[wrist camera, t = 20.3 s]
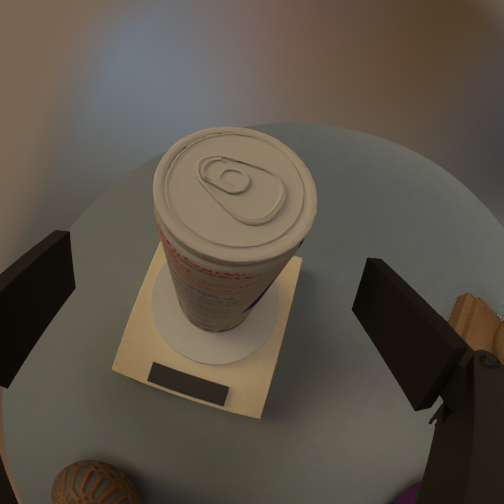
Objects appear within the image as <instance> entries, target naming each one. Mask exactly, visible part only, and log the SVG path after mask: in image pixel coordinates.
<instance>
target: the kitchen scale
mask: <svg viewBox="0 0 504 504" xmlns="http://www.w3.org/2000/svg"><path fill="white" fill-rule="evenodd" d="M301 263H302V258H300V257H297V256H294V255H293V257H292V258H291V259H290V261H289V262H288V263H287V265H286V266H285V267H284V269H283V270H282V271H281V273H280V274H279V275H278V277H277V278H276V279H275V281H274V282H273V283H272V285H271V286H270V287H269V289H268V290H267V291H266V293H265V294H264V295H263V297H262V298H261V299H260V300H259V302H258V303H257V304H256V306H255V307H254V308H253V310H252V311H251V312H250V313H249V315H248V316H247V318H246V319H245V320H244V321H243V322H242V323H241V324H240V325H239V326H237V327H236V328H234V329H232V330H229V331H226V332H221V333H213V332H207V331H204V330H201V329H199V328H197V327H196V326H194V325H193V324H192V323H191V322H190V321H189V320H188V319H187V318H186V317H185V315H184V314H183V312H182V310H181V307H180V304H179V301H178V298H177V294H176V291H175V288H174V284H173V281H172V277H171V274H170V271H169V267H168V263H167V260H166V256H165V253H164V249H163V245H162V242H161V241H160V244H159V246H158V248H157V251H156V253H155V255H154V258H153V260H152V262H151V265H150V267H149V270H148V272H147V274H146V277H145V279H144V282H143V284H142V287H141V289H140V292H139V294H138V297H137V300H136V302H135V305H134V307H133V310H132V313H131V315H130V318H129V321H128V324H127V326H126V329H125V332H124V335H123V337H122V340H121V343H120V346H119V349H118V352H117V355H116V358H115V361H114V364H113V367H112V370H113V371H116V372H118V373H120V374H123V375H125V376H127V377H130V378H132V379H135V380H137V381H140V382H142V383H145V384H147V385H150V386H152V387H155V388H158V389H160V390H163V391H166V392H169V393H172V394H174V395H177V396H180V397H183V398H186V399H189V400H192V401H195V402H199V403H202V404H205V405H208V406H212V407H215V408H218V409H222V410H226V411H229V412H233V413H237V414H240V415H244V416H248V417H252V418H257V419H260V418H261V415H262V411H263V408H264V404H265V401H266V398H267V394H268V391H269V387H270V384H271V380H272V377H273V373H274V369H275V366H276V362H277V359H278V355H279V351H280V347H281V344H282V340H283V336H284V332H285V328H286V325H287V321H288V317H289V313H290V309H291V305H292V301H293V297H294V292H295V288H296V284H297V280H298V276H299V271H300V267H301Z"/></svg>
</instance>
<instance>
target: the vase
mask: <svg viewBox="0 0 504 504" xmlns="http://www.w3.org/2000/svg"><path fill="white" fill-rule="evenodd" d="M51 497H52V503H53V504H140V498H139V495H138V492H137V490H136V488H135V486H134V484H133V483H132V481H131V480H130V479H129V478H128V477H127V476H126V475H125V474H124V473H123V472H122V471H120V470H119V469H118V468H116V467H114V466H112V465H110V464H107V463H105V462H101V461H94V460H85V461H79V462H76V463H73V464H71V465H69V466H67V467H66V468H64V469H63V470H62V471H61V472H60V473H59V474H58V475H57V477H56V479H55V481H54V483H53V487H52V494H51Z"/></svg>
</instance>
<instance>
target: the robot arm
mask: <svg viewBox="0 0 504 504" xmlns="http://www.w3.org/2000/svg"><path fill="white" fill-rule="evenodd" d="M75 288H76V286H75V279H74V271H73V263H72V253H71V242H70V231H59V230H55V231H54V232H52V233H51V234H50V235H48V236H47V237H46V238H44V239H43V240H42V241H41V242H39V243H38V244H37V245H35V246H34V247H33V248H32V249H30V250H29V251H28V252H27V253H25V254H24V255H23V256H22V257H20V258H19V259H18V260H17V261H15V262H14V263H13V264H12V265H11V266H9V267H8V268H7V269H6V270H5V271H4V272H2V273H1V274H0V386H2V387H5V388H7V389H8V388H9V386H10V384H11V382H12V381H13V379H14V377H15V376H16V374H17V372H18V371H19V369H20V368H21V366H22V364H23V363H24V361H25V360H26V358H27V356H28V355H29V353H30V352H31V350H32V349H33V347H34V346H35V344H36V343H37V341H38V340H39V338H40V337H41V335H42V334H43V332H44V331H45V329H46V328H47V326H48V325H49V324H50V322H51V321H52V319H53V318H54V317H55V315H56V314H57V312H58V311H59V310H60V308H61V307H62V306H63V304H64V303H65V301H66V300H67V299H68V297H69V296H70V295H71V294H72V292H73V291H74V290H75ZM352 311H353V312H354V314H355V315H356V317H357V319H358V320H359V322H360V323H361V325H362V326H363V328H364V329H365V331H366V332H367V334H368V335H369V337H370V339H371V340H372V342H373V343H374V345H375V346H376V348H377V350H378V351H379V353H380V354H381V356H382V358H383V359H384V361H385V362H386V364H387V366H388V367H389V369H390V370H391V372H392V374H393V375H394V377H395V379H396V380H397V382H398V383H399V385H400V387H401V388H402V390H403V392H404V393H405V395H406V397H407V398H408V400H409V402H410V404H411V405H412V407H413V409H414V410H415V411H419V410H423V409H427V408H431V407H432V405H433V404H434V403H435V401H436V400H437V398H438V397H439V395H440V396H441V398H442V399H443V403H442V404H441V406H440V407H439V409H438V410H437V411H436V413H435V414H434V415H433V417H432V418H431V419H430V421H429V424H432V422H433V421H434V420H435V419H437V422H436V424H435V426H436V427H435V432H434V436H433V441H432V445H431V449H430V453H429V457H428V461H427V465H426V469H425V472H424V476H423V479H422V482H421V486H420V489H419V492H418V495H417V498H416V501H415V504H504V365H503V364H502V363H501V361H500V360H499V359H498V358H497V357H496V356H495V355H494V354H492V353H490V352H488V351H486V350H476V351H474V350H473V349H472V348H471V347H470V346H469V345H468V344H467V343H466V342H465V340H464V339H463V338H462V337H461V336H460V335H459V334H458V333H457V332H455V330H454V329H453V328H452V327H451V326H449V324H448V322H447V321H446V320H445V319H444V318H443V317H441V316H440V315H439V314H438V313H437V312H436V311H435V310H434V309H433V308H432V307H431V306H430V305H429V304H428V303H427V302H426V301H425V300H424V299H423V298H422V297H421V296H420V295H419V294H418V293H417V292H416V291H415V290H414V289H413V288H412V287H411V286H409V285H408V284H407V283H406V282H405V281H404V280H403V279H402V278H401V277H400V276H399V275H398V274H397V273H396V272H395V271H394V270H393V269H392V268H390V267H389V266H388V265H387V264H386V263H385V262H384V261H383V260H382V259H377V258H367V261H366V264H365V268H364V271H363V275H362V278H361V281H360V285H359V288H358V291H357V294H356V298H355V301H354V304H353V307H352ZM0 504H18V502H17V499H16V497H15V494H14V492H13V489H12V487H11V484H10V482H9V479H8V476H7V474H6V471H5V468H4V465H3V462H2V459H1V456H0Z"/></svg>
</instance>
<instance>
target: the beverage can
mask: <svg viewBox="0 0 504 504" xmlns="http://www.w3.org/2000/svg"><path fill="white" fill-rule="evenodd" d="M153 195H154V209H155V217H156V222H157V226H158V230H159V234H160V238H161V242H162V245H163V249H164V253H165V256H166V260H167V263H168V267H169V271H170V274H171V277H172V281H173V284H174V288H175V291H176V294H177V298H178V301H179V304H180V307H181V310H182V312H183V314H184V315H185V317H186V318H187V319H188V320H189V321H190V322H191V323H192V324H193V325H194V326H196V327H197V328H199V329H201V330H204V331H207V332H213V333H221V332H226V331H229V330H232V329H234V328H236V327H237V326H239V325H240V324H241V323H242V322H243V321H244V320H245V319H246V318H247V316H248V315H249V313H250V312H251V311H252V310H253V308H254V307H255V306H256V304H257V303H258V302H259V300H260V299H261V298H262V297H263V295H264V294H265V293H266V291H267V290H268V289H269V287H270V286H271V285H272V283H273V282H274V281H275V279H276V278H277V277H278V275H279V274H280V273H281V271H282V270H283V269H284V267H285V266H286V265H287V263H288V262H289V261H290V259H291V258H292V257H293V255H294V254H295V252H296V251H297V250H298V248H299V247H300V245H301V244H302V242H303V240H304V238H305V237H306V235H307V234H308V233H309V231H310V229H311V227H312V225H313V223H314V220H315V217H316V212H317V205H318V198H317V191H316V186H315V183H314V180H313V178H312V176H311V174H310V172H309V170H308V169H307V167H306V165H305V164H304V163H303V161H302V160H301V159H300V158H299V157H298V156H297V155H296V154H295V153H294V152H293V151H292V150H291V149H290V148H289V147H287V146H286V145H284V144H283V143H282V142H280V141H279V140H277V139H275V138H273V137H271V136H268V135H266V134H264V133H261V132H258V131H255V130H251V129H246V128H240V127H216V128H209V129H203V130H201V131H198V132H195V133H193V134H190V135H188V136H186V137H184V138H183V139H181V140H180V141H178V142H177V143H175V144H174V145H173V146H172V147H171V148H170V149H169V150H168V151H167V152H166V154H165V155H164V156H163V158H162V159H161V161H160V163H159V165H158V167H157V169H156V172H155V176H154V183H153Z"/></svg>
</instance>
